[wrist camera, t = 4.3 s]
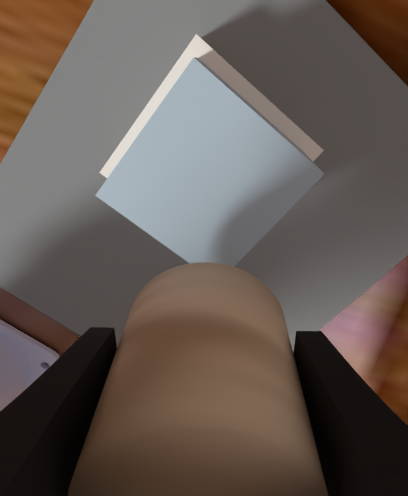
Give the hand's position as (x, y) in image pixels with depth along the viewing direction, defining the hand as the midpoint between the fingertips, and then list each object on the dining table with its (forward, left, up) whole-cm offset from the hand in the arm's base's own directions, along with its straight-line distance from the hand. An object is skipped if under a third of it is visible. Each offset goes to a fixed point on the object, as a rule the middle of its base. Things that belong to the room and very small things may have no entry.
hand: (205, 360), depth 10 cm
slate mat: (0, 0, -10) cm, 10 cm away
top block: (+3, +2, -7) cm, 8 cm away
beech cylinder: (0, 0, -1) cm, 1 cm away
